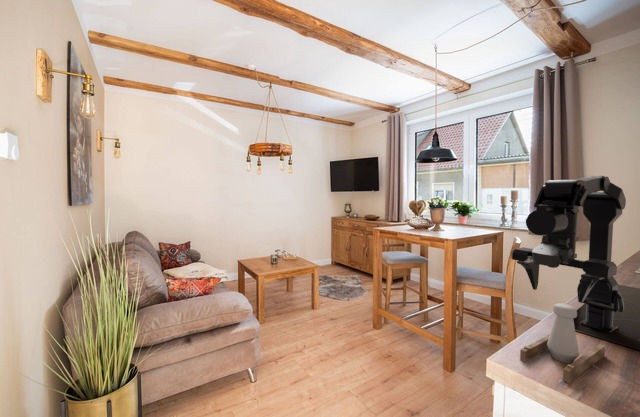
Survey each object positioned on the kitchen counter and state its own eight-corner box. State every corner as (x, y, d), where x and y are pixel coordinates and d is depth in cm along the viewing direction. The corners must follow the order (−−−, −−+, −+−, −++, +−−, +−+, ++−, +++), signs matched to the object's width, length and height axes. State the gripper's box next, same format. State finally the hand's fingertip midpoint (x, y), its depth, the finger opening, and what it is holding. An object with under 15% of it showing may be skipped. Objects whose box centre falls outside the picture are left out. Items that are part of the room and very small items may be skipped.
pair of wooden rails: (558, 338, 76) (558, 328, 76) (604, 356, 68) (605, 345, 68) (520, 359, 67) (520, 348, 66) (568, 382, 59) (569, 370, 58)
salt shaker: (584, 367, 64) (588, 311, 63) (556, 364, 65) (559, 309, 64) (567, 352, 70) (570, 301, 69) (541, 350, 71) (544, 299, 70)
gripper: (500, 229, 72) (498, 289, 73) (599, 241, 55) (594, 318, 56) (523, 226, 77) (520, 282, 78) (620, 236, 61) (614, 306, 62)
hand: (556, 295), depth 68 cm, fingers open, 9 cm apart
